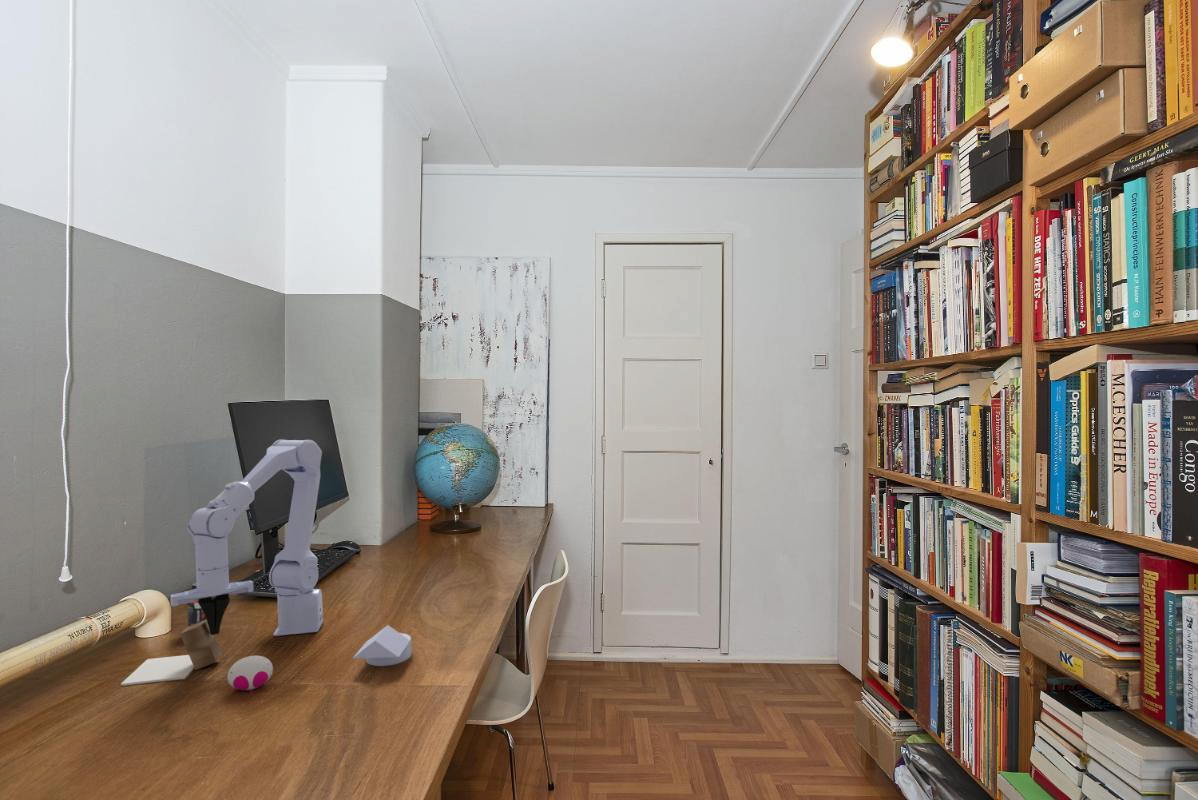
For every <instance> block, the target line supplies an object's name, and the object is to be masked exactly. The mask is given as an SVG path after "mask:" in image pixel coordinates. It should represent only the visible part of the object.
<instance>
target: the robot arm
mask: <svg viewBox="0 0 1198 800" xmlns="http://www.w3.org/2000/svg"><path fill="white" fill-rule="evenodd" d="M322 453H323V451H322V449H321V448H320V446H319V445H318V444H317V442H315V441H314V440H312V439H304V440H301V439H300V440H298V439H293V440H290V439H289V440H288V439H278V440H275V442H273V443H272V445H271V446H269V447H268V448H267V449H266V454H265V455H264V457H263V458H261V459H260V461H259V462H258V463H257V464H256V465H254V467H253V468H252V469H251V471H250V472H249V473H248V474H247V475H246V476H245V477H244V478H243V479H242V480H241V481H232V482H231V483H230V482H229V483H227V484H226V485H225V486H224V490H222V491H221V492H220V493H219V494H218V495H217V496H216V497H215V498H214V499H211V500H210V501H209V502H208V505H207V506H206V507H202V508H199V509H197V510H196V511H195V512H193V513H192V514H191V516H190V518H189V521H188V523H187V524H186V528H187V531H188V533H189V534H190V535H192V539H193V540H192V542H193V543H194V549H195V550H194V551H195V576H196V577H195V578H196V579H195V580H196V581H195V583H196V584H197V589H193V590H192V589H190V590H186V591H182V592H178V593H173V594H170V606H171V607H178V606H179V605H183V604H188V603H189V602H195V601H197V602H198V603H199V605H200V607H201V609H202V610H203V612H204V614H205V617H206V619H207V622H208V625H209V629H210V634H211V635H214V636H215V635H220V629H221V624H222V621H223V618H224V614H225V613H226V610H227V608H228V607H229V606H228V605H229V604H230V601H231V599H230V597H229V596H231V595H238V594H242V593H246V592H247V593H252V592H254V582H253V581H252V580H245V581H236V582H230V581H229V580H230V578H229V574H230V573H229V548H228V534H230V533H231V532H232V530H233V528H234V526H235V525H234V524H235V522H236V520H237V519H238V518H237V517H239V515H241V514H242V512H244V510H245V509H246V508H247V507H249V506H250V504H251V503H252V502H253V501H254V500H255V492H256V491H257V490H258V489H260V488H261V487H263V485H264V484H266V482H268V481H269V480H270V479H271V478H273V477H274V475H276V474H277V473H278V472H280V471H282V470H283V471H284V472H286V473H287V474H288V475H289V476H290V477H291V478H292V479H293V481H294V485H293V492H292V497H291V503H290V510H289V516H288V521H287V522H288V524H287V529H286V530H287V531H286V536H285V541H284V542H285V543H284V548H283V549H282V550H280V551H279V552H278V553H277V554H276V555H275V557H274V561H273V564H272V566H271V568H270V570H269V573H268V582H269V584H270V585H271V587H272V588H274V592H275V593H277V596H276V597H277V619H278V620H277V621H278V627H276V629H275V631H274V632H273V635H272V636H274V637H280V636H289V635H290V636H291V635H297V634H300V635H301V634H307V633H310V634H311V633H317V632H319V631H320V628H321V626H322V624H323V623H324V613H323V593H322V589H319V588H315V586H317V585H316V584H317V582H318V581H319V576H320V575H319V569H318V560H319V559H318V557H317V556H316V554H314V553H313V552H312V551H311V542H312V535H313V529H314V523H315V515H316V508H317V503H318V502H317V501H318V495H319V489H320V483H321V482H320V481H321V461H322V456H323V454H322Z"/></svg>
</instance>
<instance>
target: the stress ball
mask: <svg viewBox="0 0 1198 800" xmlns="http://www.w3.org/2000/svg"><path fill="white" fill-rule="evenodd" d="M273 666H274V665H273V662H271V660H270V659H269V658H267V657H265V656H263V655H249V656H245V657H243V658H240V659H239V660H237V661H236V662H234V664H233V665H232V666H231V667H230V668H229V670H228V673H227V682H228V684H229V685H230V686H231V687H232V688H234V689H236V690H240V691H250V694H252V693H253V690H255V689H258V688H260V687H261V686H263V685H264V684H266V682H268V681H269V679H270V678H271V676H272V674H273V672H274V667H273Z"/></svg>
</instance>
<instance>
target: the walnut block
mask: <svg viewBox="0 0 1198 800" xmlns="http://www.w3.org/2000/svg"><path fill="white" fill-rule="evenodd" d="M179 635H180V638H181V640H182V643H183V644H184V647H185V650H186V652H187V655H189V656H190V659H191V661H192V663H193V666H194V670H195V671H197V670H199V669H203V668H204V667H207V666H209V665H212V664H214V663H216V662H218V660H219V659H220V658H221V657H222V655H223V651H222V650H221V648H220V646H219V643H218V641H217V638H216V636H215V635H211V634H210V629H209V625H208V622H207V619H206V620H204V621H201V622H199V623H196V624H194V625H191V626H189V627H188V626H187V627H186V628H184V629H183V630H182V631H181V632H180V633H179Z"/></svg>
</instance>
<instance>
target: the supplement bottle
mask: <svg viewBox="0 0 1198 800" xmlns="http://www.w3.org/2000/svg"><path fill="white" fill-rule="evenodd" d="M193 589H197V584H196V582H193V583H192V584H191V590H193ZM204 620H206V617H205V614H204V612H203V610H202V609H201V607H200V605H199V603H198V602H197V601H195V602H189V603H187V627H189V626H191V625H194V624H196V623H199V622H201V621H204Z"/></svg>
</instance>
